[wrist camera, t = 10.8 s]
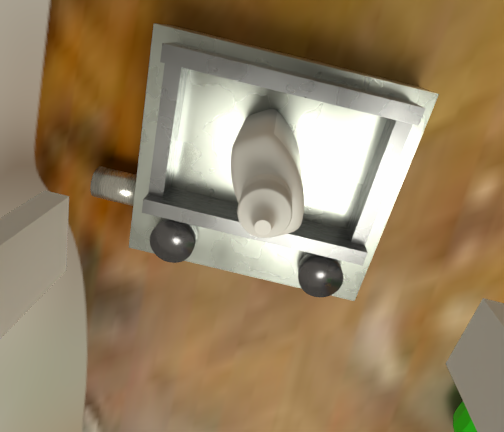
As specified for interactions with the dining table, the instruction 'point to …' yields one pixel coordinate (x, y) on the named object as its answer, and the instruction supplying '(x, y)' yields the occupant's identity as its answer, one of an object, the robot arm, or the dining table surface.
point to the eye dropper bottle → (267, 176)
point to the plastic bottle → (463, 420)
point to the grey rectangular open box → (310, 149)
